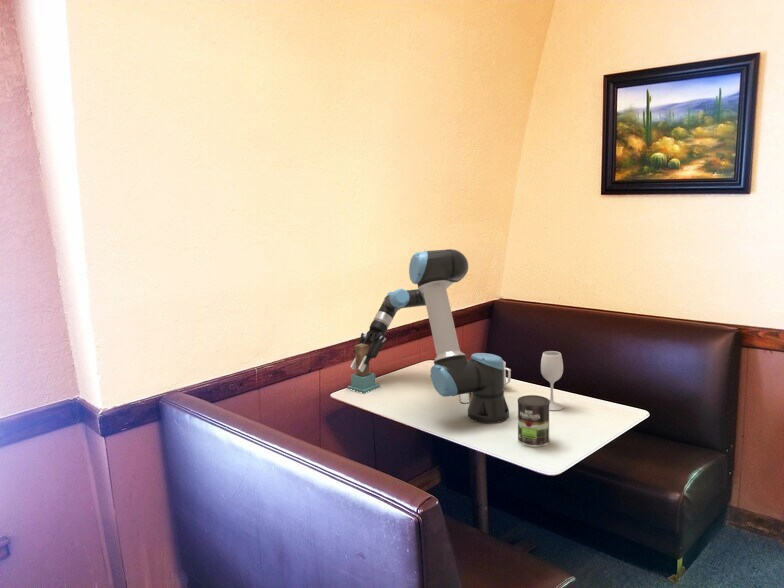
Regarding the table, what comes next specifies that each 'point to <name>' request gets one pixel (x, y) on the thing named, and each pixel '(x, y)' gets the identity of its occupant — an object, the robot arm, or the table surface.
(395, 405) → the table surface
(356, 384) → the teal square socket
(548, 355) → the wineglass
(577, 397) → the table surface
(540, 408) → the coffee can
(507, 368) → the mug
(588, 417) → the table surface
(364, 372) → the post
